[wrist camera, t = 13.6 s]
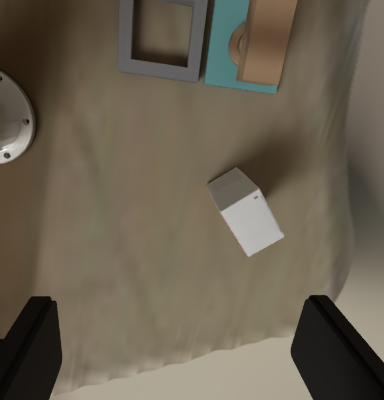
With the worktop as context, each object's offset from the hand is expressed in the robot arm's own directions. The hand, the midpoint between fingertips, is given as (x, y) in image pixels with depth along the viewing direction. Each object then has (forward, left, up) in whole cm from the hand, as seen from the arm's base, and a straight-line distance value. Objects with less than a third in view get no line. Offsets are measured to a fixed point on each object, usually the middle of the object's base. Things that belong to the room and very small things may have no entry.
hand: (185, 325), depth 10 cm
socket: (-2, +15, -31) cm, 35 cm away
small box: (+11, -5, -32) cm, 34 cm away
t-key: (+9, +15, -30) cm, 35 cm away
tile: (+9, +15, -31) cm, 36 cm away
